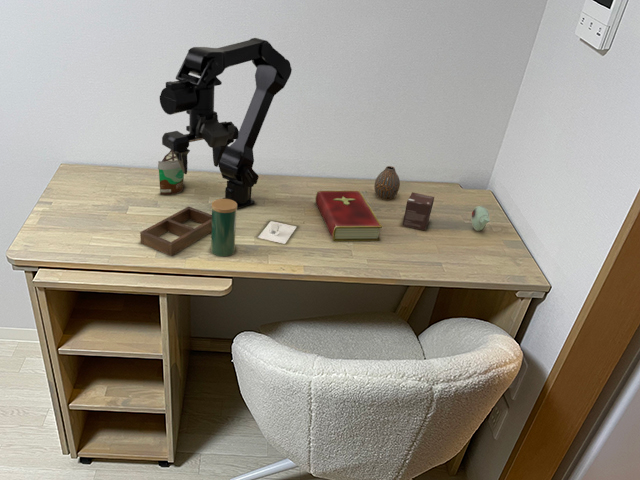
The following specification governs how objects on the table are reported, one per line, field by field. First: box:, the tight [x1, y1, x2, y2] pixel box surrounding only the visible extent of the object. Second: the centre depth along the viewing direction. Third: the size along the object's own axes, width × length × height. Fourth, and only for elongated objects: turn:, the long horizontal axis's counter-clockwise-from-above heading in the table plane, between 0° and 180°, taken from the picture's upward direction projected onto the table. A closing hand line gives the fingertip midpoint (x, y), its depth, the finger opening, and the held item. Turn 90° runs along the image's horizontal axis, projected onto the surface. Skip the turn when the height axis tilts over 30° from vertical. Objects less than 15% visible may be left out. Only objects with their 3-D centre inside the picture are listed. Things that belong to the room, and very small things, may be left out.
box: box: [402, 192, 435, 231], centre depth 159 cm, size 6×6×7 cm
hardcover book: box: [315, 190, 383, 242], centre depth 159 cm, size 12×21×4 cm, turn 6°
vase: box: [373, 165, 401, 201], centre depth 172 cm, size 7×7×9 cm
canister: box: [210, 198, 238, 257], centre depth 141 cm, size 6×6×12 cm
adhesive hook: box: [268, 221, 282, 236], centre depth 152 cm, size 3×3×3 cm
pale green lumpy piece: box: [470, 205, 491, 232], centre depth 158 cm, size 8×4×7 cm, turn 175°
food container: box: [157, 149, 185, 196], centre depth 169 cm, size 12×6×10 cm, turn 168°
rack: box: [139, 206, 212, 257], centre depth 149 cm, size 18×10×3 cm, turn 145°
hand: (200, 169), depth 151 cm, fingers open, 9 cm apart
